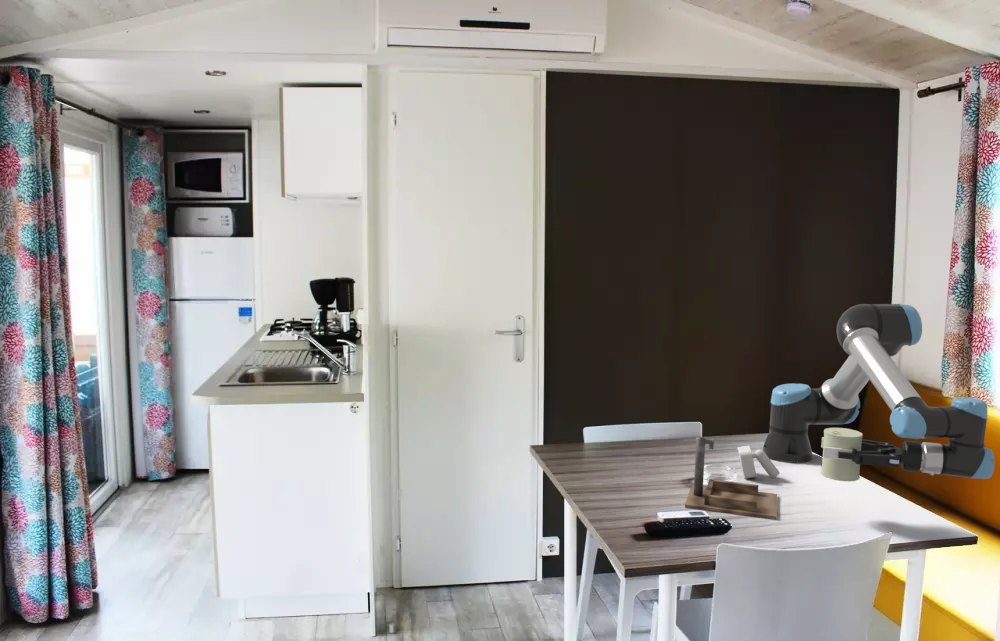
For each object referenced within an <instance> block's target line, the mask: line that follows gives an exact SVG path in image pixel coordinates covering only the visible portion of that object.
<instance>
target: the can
mask: <svg viewBox="0 0 1000 641" xmlns="http://www.w3.org/2000/svg"><path fill="white" fill-rule="evenodd" d="M863 436H864V435H863V433H862V432H860V431H858V430H856V429H855V430H854V429H851V428H847V427H845V428H844V427H827V428H824V430H823V437H824V445H823V448H822V454H823V453H824V447H833V448H842V449H852V453H853V448H854V449H857V451H861V445H862V439H863ZM860 467H861V464H856V462H853V461H852V460H851V461H849V460H840V459H830V458H823V457H822V463H821V471H820V474H821V476H823V477H825V478H828V479H830V480H834V481H840V482H856V481H858V480H860V477H861V476H860V473H861V472H860V471H861V470H860Z"/></svg>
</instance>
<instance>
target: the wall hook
mask: <svg viewBox="0 0 1000 641" xmlns="http://www.w3.org/2000/svg"><path fill="white" fill-rule="evenodd" d="M736 448H737V452H738V457H739V462H740V467H741V471H742V475H743V477H744V479H745V480H746V479H753V478H757V471H756V468H755V463H754V459H756V460H757V462H759V464H760V466H761V467H762V468H763V469H764V471H765V472H766V473H767V475H768V476H769V478H770V479H775V478H776V477H778V476H779V474H780V471H779V470H778V468H777V467H776V465H775V464H774V463H773V461H772V460H771V458H769V457H768V456H767V455H766V453H765V452H764V451H763V449H756V451H754V452H755V453H752V450H751V447H750V445H742V446H737V447H736Z"/></svg>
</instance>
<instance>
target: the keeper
mask: <svg viewBox="0 0 1000 641" xmlns="http://www.w3.org/2000/svg"><path fill="white" fill-rule="evenodd" d="M714 442H715V440H714V438H708V437H704V436H703V437H702V436H696V438H695V458H694V459H695V460H694V461H695V462H694V480H693V481H694V483H691V487H690V489H689V493H688V495H687V497H686V501H685V503H684V508H687V509H693V510H702V511H708V512H717V513H722V514H723V513H725V514H731V515H732V514H733V515H740V516H746V517H753V518H754V517H755V518H760V517H761V519H768V520H778V493H772V492H765V491H759V484H753V483H752V484H751V483H745V482H744V483H743V482H737V481H730V480H719V479H713V478H709V479H708V483H707V484H704V474H705V473H704V472H705V453H706V445H709V447H708V449H709V450H714V448H715V447H714Z"/></svg>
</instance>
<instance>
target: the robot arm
mask: <svg viewBox="0 0 1000 641" xmlns="http://www.w3.org/2000/svg"><path fill="white" fill-rule="evenodd" d="M922 335H923V322H922V317H921V315H920V313H919V312H918V310H917V308H915V307H914V306H912V305H910V304H901V303H876V304H875V303H871V304H868V303H861V304H855V305H853V306H850V307H849V308H848V309H846V310H845V311H844V312H843V313H842V314H841V315H840V317H839V319H838V321H837V323H836V336H837V340H838V343H839V345H840V346H841V348H842V349H843V352H845V353H846V354H847V355H848V357H847V359H846V360H845V361H844V363H843V364H842V366H841V367H840V368H839V370H838V371H837V372H836V374H835V375H834V377H833V378H829V379H827V380H825V381H824V382H823V383H822V385H820V387H818V388H811V387H810V386H809V384H805V383H795V382H794V383H784V384H780V385H777V386H776V387H774V388H773V389H772V393H771V399H770V420H769V430H768V431H769V432H768V433H767V437H766V439H765V442H764V443H763V445H762V450H763V451H764V452H765V453H766V455H767V456H768V457H769V459H770V460H771V459H772V460H775V461H779V462H780V461H781V462H787V463H807V462H809V461H811V460H812V459H813V450H812V446H811V443H810V439H809V435H808V431H809V426H810V425H811V426H812V425H813V426H814V425H834V426H835V425H837V426H839V425H845V424H846V425H847V424H851V423H852V422H854V421H855V420H856V418H857V417H858V416H859V413H860V411H859V409H860V408H861V402H860V398H859V393H861V391H862V390H863V389H864V387H865V386H866V385H867V383H868V382H869V381H870V382H871V384H872V385H873V386H874V389H875V390H876V391H877V393H878V394H879V395H880V397H881V399H882V400H883V401H884V402H885V403H886V405H887V406H888V408H889V409H890V411H891V414H890V416H889V423H890V424H889V425H891V430H892V432H893V433H894V434H895V435H896V437H899V438H901V439H912V440H904V441H903V442H902V445H901V447H898V446H895V444H894V445H893V442H886V441H885V442H884V441H879V440H871V439H870V440H869V439H863V438H862V445H861V451H857V449H854V448H853V453H852V449H842V448H833V447H824V453H823V452H822V459H823V458H830V459H840V460H849V461H851V460H852V461H853V462H856V464H860V465H867V466H883V467H884V466H887V467H895V468H899V466H901V469H902V471H905V472H914V473H918V472H921V473H924V474H925V473H926V474H929V475H930V476H934V475H941V476H942V475H944V476H952V477H960V478H967V479H982V480H988V479H989V478H991V477H992V476H993V474H994V471H995V455H994V452H993V450H992V449H990V448H988V447H985V439H986V438H985V437H986V429H987V422H988V404H987V403H986V401H984V400H982V399H979V398H974V397H967V396H958V397H953V398H952V401H951V404H950V406H928V404H927V403H926V402H925V400H924V399H923V398H922V397H921V395H920V394H919V393H918V392H917V391H916V389H915V388H914V387H913V385H912V383H911V382H910V380H908V378H907V376H906V375H905V374H904V373H903V372H902V370H901V369H900V367H899V366H898V365H897V364H896V362H895V361H894V360H893V358H892V357H894V356H896V355H897V354H898V353H899V352H900V351H901V350H902V349H903V347H904V346H909V347H910V346H915V345H916V344H918V343H919V342H920V341H921V337H922ZM919 439H948V444H947V443H946V444H944V443H938V442H928V441H926V442H925V441H923V442H922V443H921V442H919V441H915V440H919ZM823 445H824V436H822V437H821V445H820V447H821V448H822V449H823Z"/></svg>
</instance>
